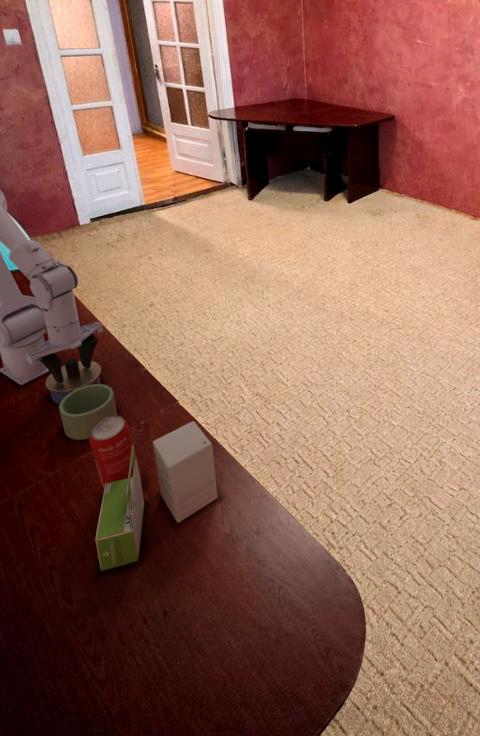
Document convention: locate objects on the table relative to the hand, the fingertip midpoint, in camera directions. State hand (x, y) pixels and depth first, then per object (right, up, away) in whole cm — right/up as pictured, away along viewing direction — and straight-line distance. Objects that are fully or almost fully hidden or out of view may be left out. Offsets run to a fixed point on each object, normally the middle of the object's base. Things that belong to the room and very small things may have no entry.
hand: (73, 373), depth 106 cm
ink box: (+28, -17, -28) cm, 43 cm away
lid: (0, -1, 0) cm, 1 cm away
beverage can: (+23, -14, -21) cm, 34 cm away
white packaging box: (+35, -15, -21) cm, 44 cm away
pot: (+8, -8, -7) cm, 13 cm away
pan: (0, -4, +2) cm, 4 cm away
